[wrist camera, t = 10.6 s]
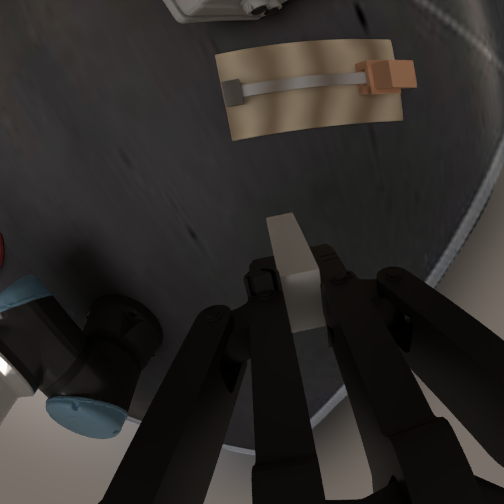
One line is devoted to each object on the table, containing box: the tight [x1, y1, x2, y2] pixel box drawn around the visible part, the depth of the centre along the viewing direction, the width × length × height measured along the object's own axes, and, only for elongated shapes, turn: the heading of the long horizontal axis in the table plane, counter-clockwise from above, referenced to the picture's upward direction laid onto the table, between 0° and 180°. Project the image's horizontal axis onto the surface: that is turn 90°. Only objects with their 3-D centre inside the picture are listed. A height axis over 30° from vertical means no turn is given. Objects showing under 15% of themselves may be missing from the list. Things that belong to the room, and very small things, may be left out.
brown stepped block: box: [355, 60, 417, 95], centre depth 29 cm, size 4×4×9 cm
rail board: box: [215, 39, 414, 141], centre depth 33 cm, size 24×12×6 cm, turn 100°
